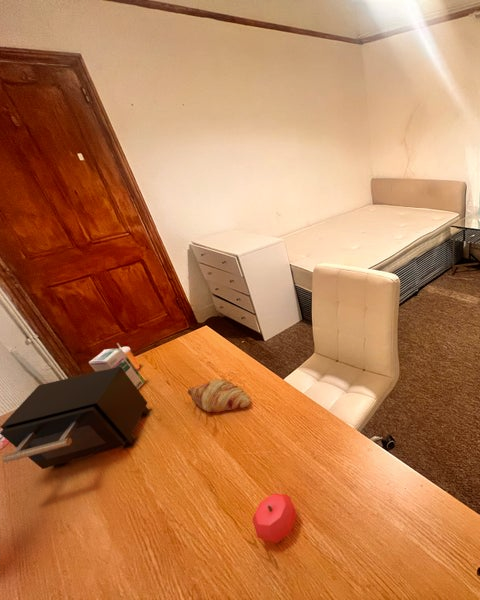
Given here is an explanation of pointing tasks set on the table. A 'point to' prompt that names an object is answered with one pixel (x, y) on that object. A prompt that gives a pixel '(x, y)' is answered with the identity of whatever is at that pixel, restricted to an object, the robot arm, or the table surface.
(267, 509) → the apple
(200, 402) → the croissant
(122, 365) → the syrup box
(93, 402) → the oven
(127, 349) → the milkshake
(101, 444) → the oven door
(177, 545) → the table surface
